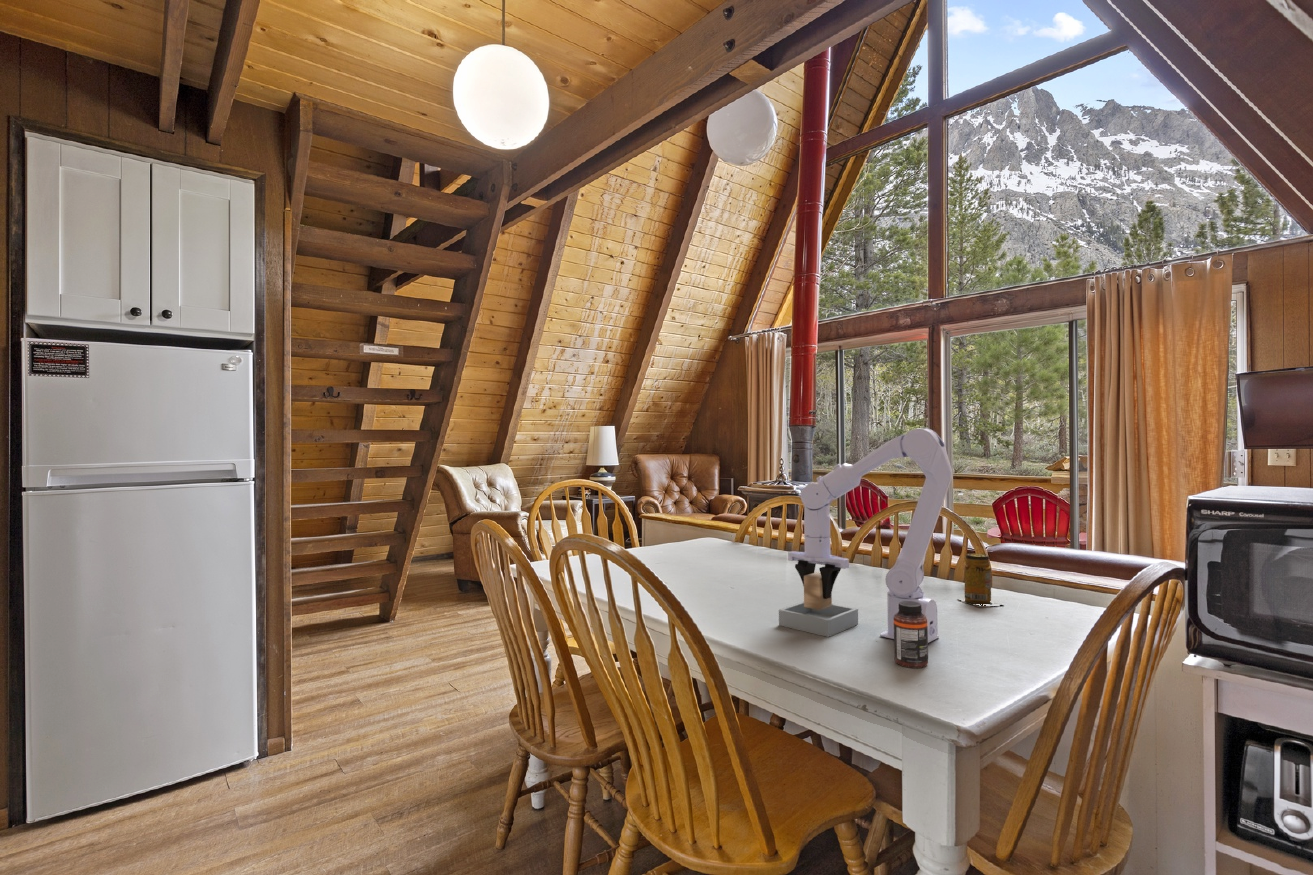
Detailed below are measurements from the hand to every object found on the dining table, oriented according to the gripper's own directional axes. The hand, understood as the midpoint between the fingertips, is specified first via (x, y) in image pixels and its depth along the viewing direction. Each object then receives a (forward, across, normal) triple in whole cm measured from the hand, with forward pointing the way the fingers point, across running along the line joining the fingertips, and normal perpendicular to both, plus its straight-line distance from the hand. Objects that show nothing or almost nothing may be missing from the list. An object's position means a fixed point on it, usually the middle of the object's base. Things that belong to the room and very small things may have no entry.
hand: (818, 596), depth 149 cm
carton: (+2, 0, 0) cm, 2 cm away
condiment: (+7, +19, +44) cm, 48 cm away
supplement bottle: (+7, +26, -10) cm, 29 cm away
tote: (+6, 0, 0) cm, 6 cm away
